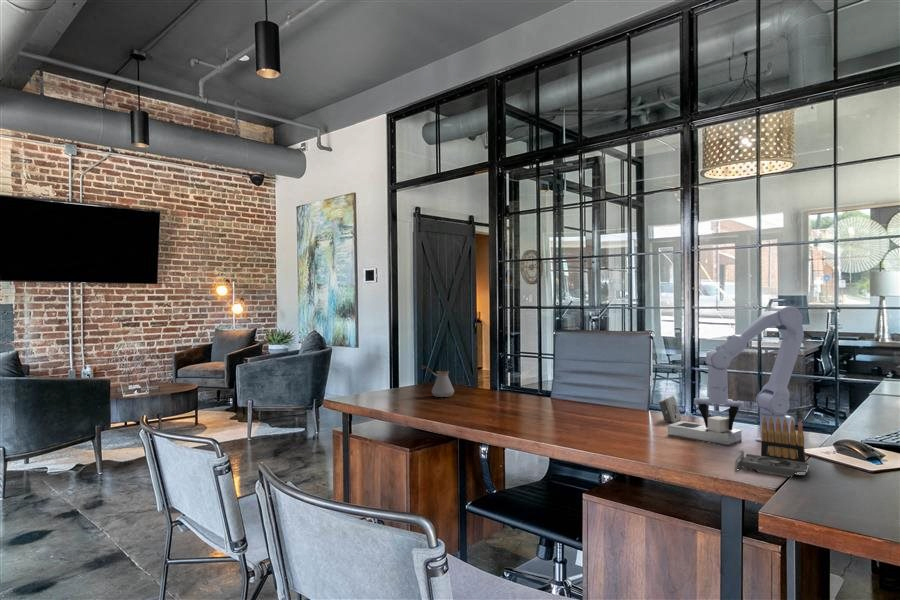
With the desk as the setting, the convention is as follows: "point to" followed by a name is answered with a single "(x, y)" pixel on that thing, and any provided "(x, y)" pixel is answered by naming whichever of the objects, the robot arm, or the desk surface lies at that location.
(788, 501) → the desk surface
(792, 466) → the graphics card
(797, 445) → the ammunition clip
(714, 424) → the plug
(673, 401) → the electrical switch
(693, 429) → the socket plate
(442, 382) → the coffee pot
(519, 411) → the desk surface
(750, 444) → the desk surface
